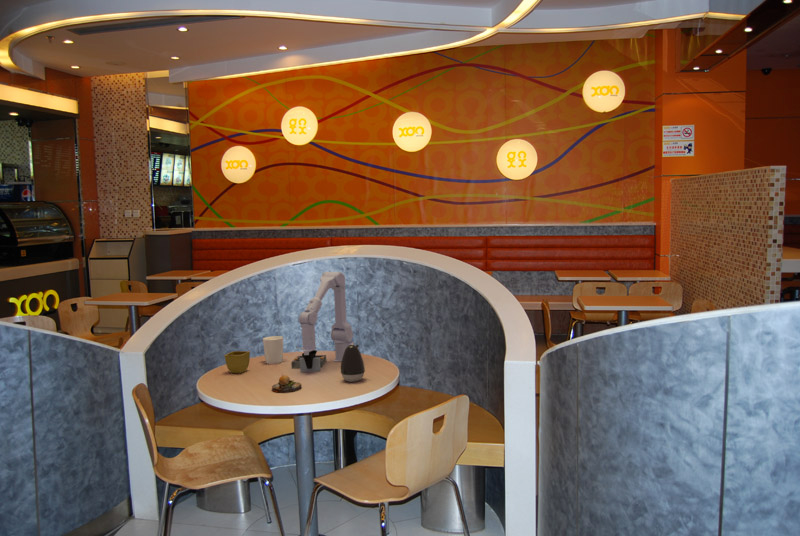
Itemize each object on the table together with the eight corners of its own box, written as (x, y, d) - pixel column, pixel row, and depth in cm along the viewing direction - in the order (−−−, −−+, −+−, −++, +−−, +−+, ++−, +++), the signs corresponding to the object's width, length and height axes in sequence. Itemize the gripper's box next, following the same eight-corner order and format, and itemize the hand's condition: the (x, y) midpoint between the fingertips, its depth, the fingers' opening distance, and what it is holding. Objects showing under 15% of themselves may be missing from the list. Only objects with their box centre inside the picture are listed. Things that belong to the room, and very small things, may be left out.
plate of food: (307, 388, 251) (306, 370, 250) (282, 395, 243) (281, 376, 242) (290, 384, 259) (289, 366, 259) (266, 390, 251) (265, 372, 251)
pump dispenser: (369, 378, 263) (368, 343, 262) (357, 384, 254) (355, 347, 253) (349, 376, 268) (348, 341, 267) (336, 382, 258) (334, 346, 257)
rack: (326, 361, 300) (326, 354, 300) (321, 367, 287) (321, 360, 286) (298, 361, 301) (297, 355, 301) (291, 368, 287) (291, 361, 287)
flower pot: (224, 374, 281) (223, 354, 281) (234, 369, 290) (233, 350, 289) (242, 374, 279) (241, 355, 278) (251, 370, 288) (250, 351, 287)
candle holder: (260, 364, 299) (259, 339, 299) (270, 359, 309) (269, 336, 308) (278, 364, 297) (277, 340, 296) (288, 360, 306) (286, 336, 305)
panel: (320, 370, 281) (320, 357, 281) (319, 371, 279) (319, 358, 279) (301, 371, 282) (300, 358, 281) (300, 372, 280) (299, 359, 279)
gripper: (303, 335, 287) (304, 364, 288) (296, 341, 273) (298, 371, 274) (318, 334, 287) (319, 363, 288) (312, 340, 272) (313, 371, 273)
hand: (310, 367), depth 281 cm, fingers open, 3 cm apart
